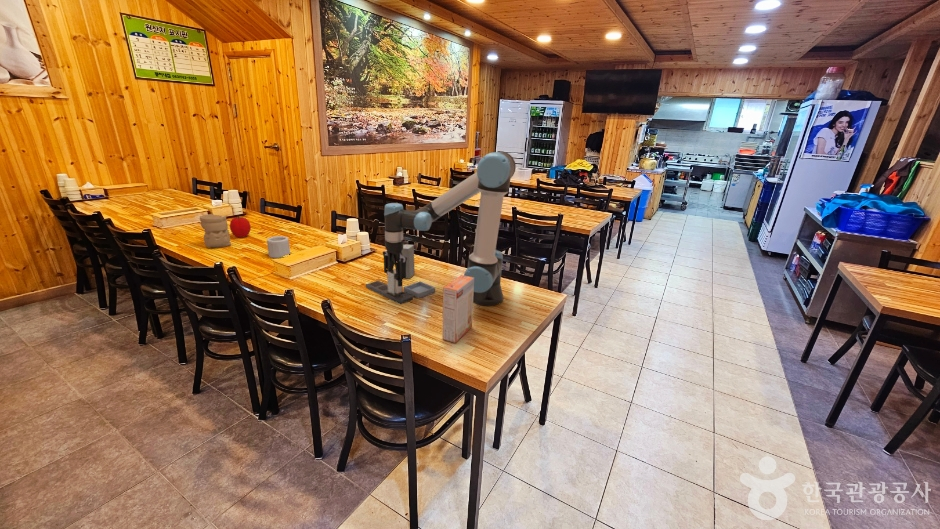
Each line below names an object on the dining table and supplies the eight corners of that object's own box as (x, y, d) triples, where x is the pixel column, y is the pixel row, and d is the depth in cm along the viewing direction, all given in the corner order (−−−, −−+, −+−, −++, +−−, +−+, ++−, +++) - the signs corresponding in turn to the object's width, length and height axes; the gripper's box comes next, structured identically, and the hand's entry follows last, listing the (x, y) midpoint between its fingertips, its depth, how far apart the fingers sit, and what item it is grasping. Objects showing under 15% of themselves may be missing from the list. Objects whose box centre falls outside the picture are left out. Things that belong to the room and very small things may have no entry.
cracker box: (458, 323, 146) (461, 273, 139) (472, 327, 143) (475, 277, 136) (440, 339, 134) (442, 286, 127) (455, 344, 131) (458, 290, 124)
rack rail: (413, 299, 164) (413, 296, 163) (400, 304, 158) (400, 300, 158) (378, 283, 178) (378, 280, 178) (366, 287, 173) (365, 284, 173)
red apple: (226, 238, 233) (222, 217, 228) (240, 233, 244) (237, 213, 239) (243, 240, 231) (239, 219, 226) (256, 235, 242) (253, 215, 238)
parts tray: (435, 292, 172) (435, 287, 171) (418, 298, 165) (418, 293, 164) (420, 285, 178) (420, 281, 177) (403, 291, 171) (403, 286, 170)
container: (217, 242, 224) (211, 213, 218) (236, 244, 223) (231, 214, 217) (200, 248, 213) (193, 217, 207) (220, 250, 211) (214, 219, 205)
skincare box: (409, 279, 185) (409, 249, 180) (396, 277, 187) (395, 247, 181) (415, 273, 193) (415, 244, 188) (402, 271, 194) (402, 243, 189)
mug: (294, 255, 210) (292, 238, 207) (276, 259, 202) (273, 242, 198) (280, 250, 217) (278, 233, 213) (262, 254, 208) (259, 237, 205)
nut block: (402, 296, 166) (402, 271, 162) (394, 299, 163) (394, 274, 159) (396, 293, 169) (395, 268, 165) (387, 296, 165) (387, 271, 161)
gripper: (414, 243, 154) (414, 294, 162) (388, 234, 165) (389, 282, 173) (400, 246, 149) (401, 299, 157) (374, 237, 159) (376, 287, 167)
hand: (395, 290), depth 165 cm, fingers closed on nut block, 5 cm apart
